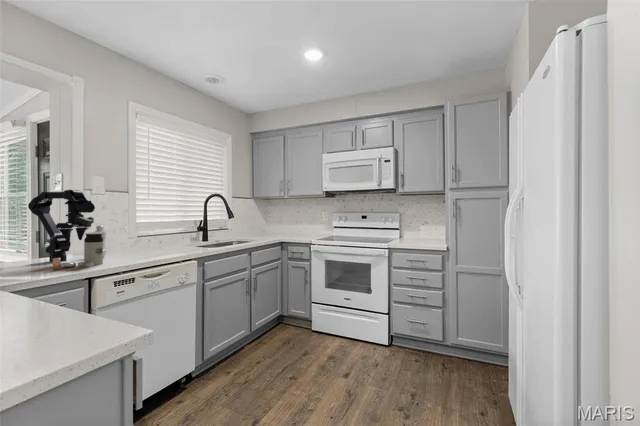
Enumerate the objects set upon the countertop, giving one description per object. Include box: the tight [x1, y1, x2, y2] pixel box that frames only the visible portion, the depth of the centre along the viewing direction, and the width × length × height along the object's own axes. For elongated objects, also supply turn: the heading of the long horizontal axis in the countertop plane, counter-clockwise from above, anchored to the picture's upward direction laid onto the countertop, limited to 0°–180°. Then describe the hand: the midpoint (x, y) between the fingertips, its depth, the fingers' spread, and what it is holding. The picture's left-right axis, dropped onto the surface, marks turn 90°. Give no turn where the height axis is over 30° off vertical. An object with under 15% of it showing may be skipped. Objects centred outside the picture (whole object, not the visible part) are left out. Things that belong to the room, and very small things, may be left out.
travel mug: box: [83, 231, 104, 266], centre depth 161 cm, size 8×8×18 cm
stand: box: [27, 261, 95, 273], centre depth 148 cm, size 21×14×3 cm, turn 99°
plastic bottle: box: [94, 225, 107, 258], centre depth 193 cm, size 6×7×20 cm
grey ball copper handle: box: [52, 258, 77, 270], centre depth 148 cm, size 12×6×6 cm, turn 8°
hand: (74, 240), depth 167 cm, fingers open, 9 cm apart
